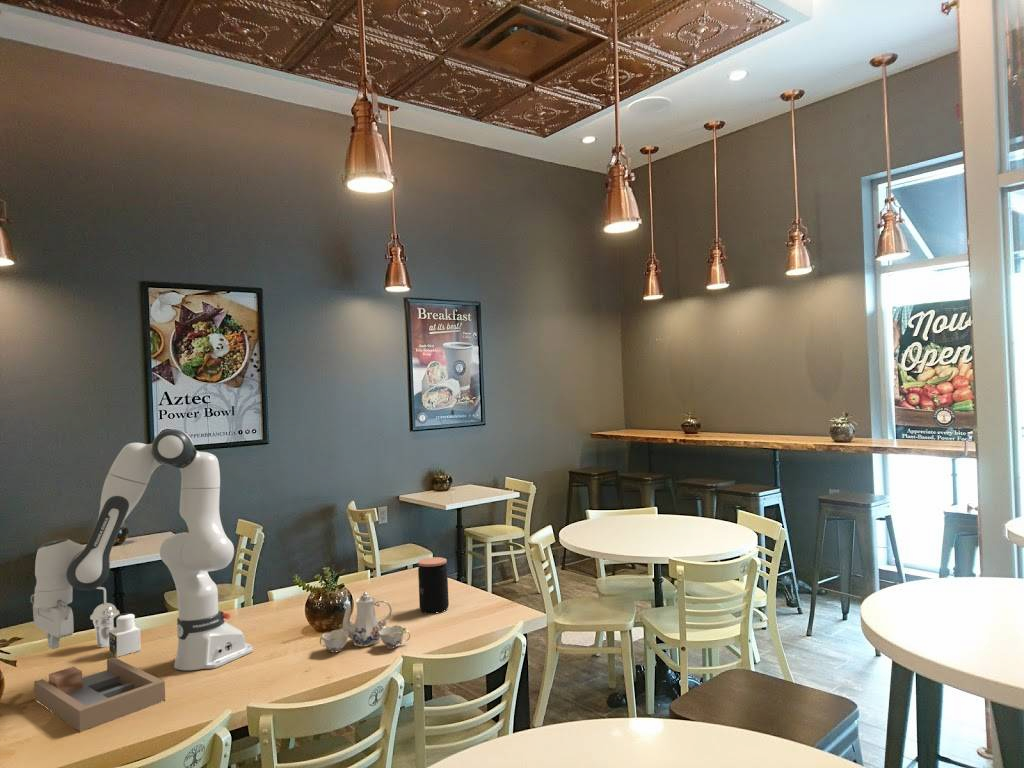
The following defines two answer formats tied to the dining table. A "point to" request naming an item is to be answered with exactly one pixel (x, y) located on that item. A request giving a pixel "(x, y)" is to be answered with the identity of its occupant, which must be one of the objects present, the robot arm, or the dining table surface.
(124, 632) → the medicine bottle
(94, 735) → the dining table surface
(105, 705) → the box
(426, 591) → the coffee jar
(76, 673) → the terracotta block
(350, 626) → the chinaware
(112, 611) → the cup with straw
